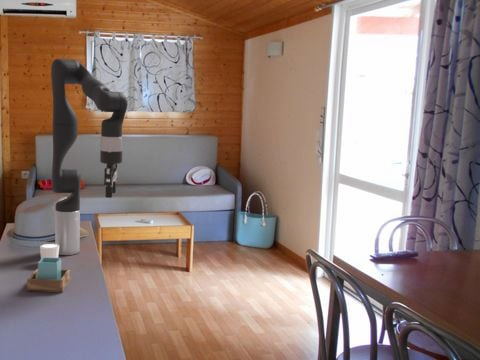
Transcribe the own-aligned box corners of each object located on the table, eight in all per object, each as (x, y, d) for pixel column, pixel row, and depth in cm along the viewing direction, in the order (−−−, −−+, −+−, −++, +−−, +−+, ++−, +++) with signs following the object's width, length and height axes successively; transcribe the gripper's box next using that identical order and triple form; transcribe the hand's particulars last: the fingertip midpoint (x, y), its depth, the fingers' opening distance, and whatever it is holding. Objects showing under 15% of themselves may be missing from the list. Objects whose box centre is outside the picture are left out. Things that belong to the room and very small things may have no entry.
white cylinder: (62, 262, 217) (62, 244, 216) (54, 267, 210) (54, 248, 209) (44, 260, 217) (44, 242, 216) (36, 266, 211) (36, 247, 210)
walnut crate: (37, 280, 195) (37, 268, 195) (70, 280, 196) (70, 269, 195) (27, 291, 184) (27, 279, 183) (62, 292, 185) (62, 280, 184)
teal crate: (42, 280, 193) (42, 257, 191) (61, 281, 193) (61, 257, 192) (38, 286, 187) (37, 262, 186) (56, 287, 187) (57, 263, 186)
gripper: (103, 147, 208) (103, 191, 210) (96, 151, 194) (96, 198, 196) (124, 147, 208) (123, 192, 211) (119, 151, 194) (118, 199, 197)
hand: (110, 195), depth 203 cm, fingers open, 8 cm apart
